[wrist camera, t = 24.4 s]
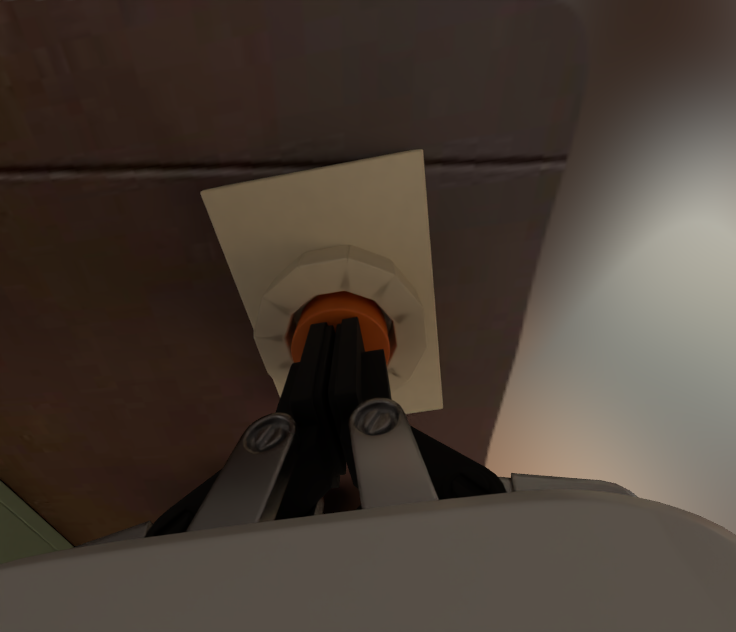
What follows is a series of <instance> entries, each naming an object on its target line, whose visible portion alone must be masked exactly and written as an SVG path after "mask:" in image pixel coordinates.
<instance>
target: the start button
mask: <svg viewBox="0 0 736 632" xmlns="http://www.w3.org/2000/svg"><path fill="white" fill-rule="evenodd" d="M353 317H358V320H359V325H360V330H361V334H362V339H363V344H364V349H365V352H366V351H373V350H379V349H384V354H385V359H386V365H387V363H388V361H389V356H390V343H389V337H388V331H387V325H386V320H385V317H384V314H383V312H382V311H381V309H380V308H379V306H378V305H377V304H376V303H375V302H374V301H373V300H371V299H369V298H366V297H362V296H359V295H356V294H353V293H350V292H347V291H340V292H334V293H328V294H322V295H318V296H317V297H315V298H314V299H312V300H311V301H310V302H309V303H308V304H307V305H306V307H305V308H304V310H303V311H302V313H301V316H300V319H299V321H298V324H297V327H296V330H295V332H294V335H293V338H292V343H291V354H292V358H293V361H294V363H296V362H300V360H301V356H302V353H303V349H304V346H305V342H306V339H307V335H308V332H309V328H310V325H311V324H317V323H323V322H327V324H328V326H329V325H333V326H334V330H335V334H336V326H337V324H341V323H342V319H347V318H353Z"/></svg>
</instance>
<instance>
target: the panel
mask: <svg viewBox="0 0 736 632" xmlns="http://www.w3.org/2000/svg"><path fill="white" fill-rule="evenodd" d="M200 194H201V197H202V199H203V202H204V204H205V207H206V209H207V212H208V214H209V217H210V220H211V222H212V225H213V227H214V230H215V232H216V235H217V237H218V240H219V243H220V245H221V248H222V250H223V253H224V255H225V258H226V260H227V263H228V266H229V268H230V271H231V273H232V276H233V278H234V281H235V284H236V286H237V289H238V291H239V294H240V296H241V299H242V301H243V304H244V307H245V309H246V312H247V314H248V317H249V319H250V322H251V324H252V327H253V330H254V333H253V334H254V340H255V342H256V345H257V347H258V350H259V353H260V355H261V358H262V360H263V363H264V365H265V368H266V370H267V372H268V374H269V375H270V376H271V377H272V378H273V381H274V383H275V386H276V388H277V391H278V394H279V396H280V397H281V394H282V391H283V388H284V385H285V382H286V379H287V376H288V373H289V370H290V367H291V365H292V363H294V361H293V358H292V354H291V343H292V338H293V335H294V332H295V330H296V327H297V324H298V321H299V319H300V316H301V313H302V311H303V310H304V308H305V307H306V305H307V304H308V303H309V302H310V301H311V300H312V299H314V298H315V297H317V296H318V295H322V294H328V293H334V292H340V291H347V292H350V293H353V294H356V295H359V296H362V297H366V298H369V299H371V300H373V301H374V302H375V303H376V304H377V305H378V306H379V308H380V309H381V311H382V312H383V314H384V317H385V320H386V325H387V331H388V337H389V343H390V356H389V361H388V363H387V371H388V377H389V384H390V391H391V398H392V400H394V401H395V402H397V403H398V404H400V405H401V407H402V409H403V410H404V412H405V414H409V413H415V412H422V411H429V410H436V409H442V408H443V399H442V386H441V373H440V361H439V348H438V335H437V322H436V310H435V297H434V284H433V271H432V258H431V246H430V233H429V220H428V207H427V195H426V182H425V169H424V156H423V150H422V149H416V150H408V151H403V152H398V153H392V154H387V155H382V156H377V157H371V158H366V159H361V160H356V161H350V162H345V163H340V164H335V165H329V166H324V167H319V168H314V169H308V170H303V171H298V172H293V173H287V174H282V175H277V176H272V177H266V178H261V179H256V180H251V181H245V182H240V183H235V184H230V185H224V186H220V187H216V188H211V189H207V190H203V191H201V192H200Z"/></svg>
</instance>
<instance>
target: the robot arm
mask: <svg viewBox="0 0 736 632" xmlns="http://www.w3.org/2000/svg"><path fill="white" fill-rule="evenodd" d="M346 462H347V465H348V468H349V472H350V474H351V478H352V481H353V484H354V486H355V487H357V488H358V489H359V493H360V499H361V506H362V510H354V511H346V512H338V513H330V514H322V513H323V509H324V498H323V496H324V495H325V494H326V493H327V492H328V491H329V490H330V489H331V488H339V483H340V475H345V474H346ZM0 632H736V535H735V534H733V533H732V532H730V531H728V530H727V529H725V528H724V527H722V526H720V525H718V524H716V523H714V522H711V521H709V520H707V519H705V518H703V517H701V516H699V515H696V514H693V513H690V512H687V511H685V510H682V509H679V508H676V507H673V506H670V505H666V504H663V503H660V502H655V501H651V500H647V499H642V498H639V497H637V496H636V495H635V494H634V493H632V492H631V491H630V490H627V489H626V488H623V487H622V486H619V485H617V484H615V483H611V482H606V481H601V480H590V479H589V480H588V479H577V478H565V477H552V476H539V475H528V474H515V473H511V478H505V477H497V475H496V474H494V473H493V472H492V471H490V470H489V469H487V468H486V467H484V466H482V465H481V464H479V463H477V462H475V461H473V460H471V459H470V458H468V457H466V456H464V455H462V454H461V453H459V452H457V451H455V450H453V449H451V448H450V447H448V446H446V445H444V444H442V443H441V442H439V441H437V440H435V439H433V438H432V437H430V436H428V435H426V434H424V433H422V432H421V431H419V430H417V429H415V428H413V427H412V426H410V425H409V423H408V420H407V417H406V415H405V412H404V410H403V409H402V407H401V405H400V404H398V403H397V402H395V401H394V400H392V398H391V391H390V384H389V377H388V371H387V365H386V359H385V354H384V349H379V350H373V351H366V352H365V349H364V344H363V339H362V334H361V330H360V325H359V320H358V317H353V318H347V319H342V323H341V324H337V326H336V334H335V330H334V326H333V325H329V326H328V324H327V322H323V323H317V324H311V325H310V328H309V332H308V335H307V339H306V342H305V346H304V349H303V353H302V356H301V360H300V362H296V363H292V365H291V367H290V370H289V373H288V376H287V379H286V382H285V385H284V388H283V391H282V394H281V397H280V401H279V404H278V407H277V410H276V413H272V414H269V415H266V416H263V417H261V418H259V419H258V420H256V421H254V422H253V423H252V424H251V425H250V426H249V427H248V428H247V429H246V430H245V432H244V433H243V434H242V436H241V438H240V439H239V441H238V443H237V445H236V446H235V448H234V450H233V451H232V453H231V455H230V456H229V458H228V460H227V462H226V463H225V465H224V467H223V468H222V469H221V470H220V471H218V472H217V473H216V474H215V475H213V476H212V477H211V478H209V479H208V480H207V481H205V482H204V483H203V484H201V485H200V486H199V487H197V488H196V489H195V490H193V491H192V492H191V493H189V494H188V495H187V496H186V497H184V498H183V499H182V500H180V501H179V502H178V503H176V504H175V505H174V506H172V507H171V508H170V509H168V510H167V511H166V512H165V513H164V514H163V515H162V516H160V517H159V518H158V519H157V520H156V522H155V523H154V524H153V523H152V522H151V521H147V522H145V523H142V524H139V525H136V526H133V527H130V528H127V529H125V530H122V531H119V532H116V533H113V534H110V535H107V536H105V537H102V538H99V539H96V540H93V541H90V542H87V543H84V544H82V545H79V546H76V547H73V548H70V549H66V550H60V551H55V552H50V553H45V554H40V555H35V556H30V557H25V558H21V559H17V560H14V561H10V562H6V563H3V564H0Z"/></svg>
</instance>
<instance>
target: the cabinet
mask: <svg viewBox="0 0 736 632" xmlns="http://www.w3.org/2000/svg"><path fill="white" fill-rule="evenodd" d="M70 548H73V546H72V545H71V544H70V543H69V542H68V541H67V540H66V539H65V538H63V537H62V536H61V535H60V534H59V533H58V532H57V531H56V530H55V529H54V528H52V527H51V526H50V525H49V524H48V523H47V522H46V521H45V520H44V519H42V518H41V517H40V516H39V515H38V514H37V513H36V512H35V511H34V510H33V509H31V508H30V507H29V506H28V505H27V504H26V503H25V502H24V501H23V500H21V499H20V498H19V497H18V496H17V495H16V494H15V493H14V492H13V491H12V490H10V489H9V488H8V487H7V486H6V485H5V484H4V483H3V482H2V481H0V564H3V563H6V562H10V561H14V560H17V559H21V558H25V557H30V556H35V555H40V554H45V553H50V552H55V551H60V550H66V549H70Z"/></svg>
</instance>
